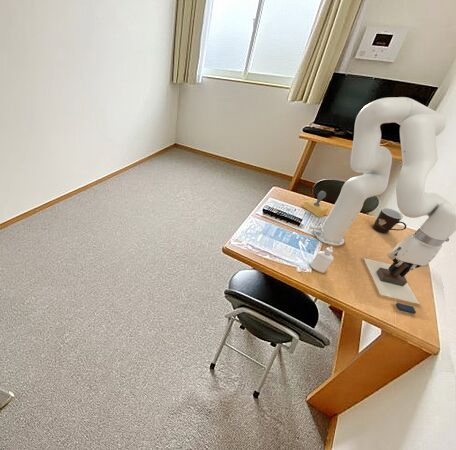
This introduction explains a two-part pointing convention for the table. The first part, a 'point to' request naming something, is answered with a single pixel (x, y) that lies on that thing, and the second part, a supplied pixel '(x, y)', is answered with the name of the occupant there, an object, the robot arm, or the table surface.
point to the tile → (389, 288)
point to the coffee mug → (387, 220)
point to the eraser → (405, 308)
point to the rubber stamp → (316, 205)
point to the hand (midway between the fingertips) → (395, 272)
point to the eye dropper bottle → (322, 260)
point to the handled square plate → (393, 275)
